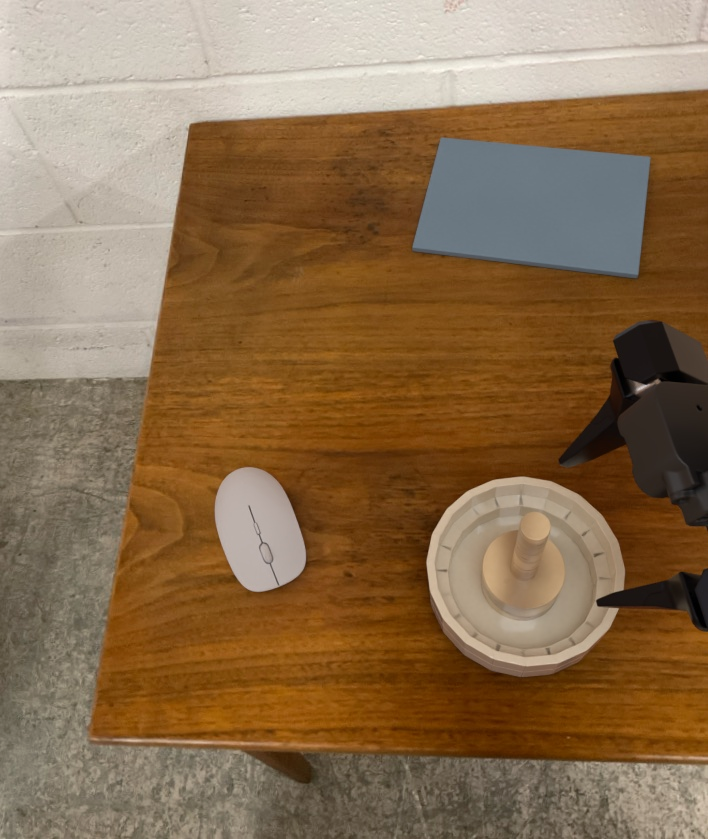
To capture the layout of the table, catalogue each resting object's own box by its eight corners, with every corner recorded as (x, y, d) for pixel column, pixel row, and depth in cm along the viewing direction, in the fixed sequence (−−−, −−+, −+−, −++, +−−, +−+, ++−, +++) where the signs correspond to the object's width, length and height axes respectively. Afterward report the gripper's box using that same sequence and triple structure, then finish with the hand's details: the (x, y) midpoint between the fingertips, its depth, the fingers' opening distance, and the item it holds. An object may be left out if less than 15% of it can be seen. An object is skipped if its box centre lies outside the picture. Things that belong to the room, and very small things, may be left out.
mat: (649, 161, 76) (650, 156, 75) (637, 279, 70) (638, 274, 69) (440, 141, 80) (440, 137, 79) (412, 251, 74) (412, 247, 73)
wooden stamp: (563, 553, 59) (588, 491, 48) (553, 628, 56) (578, 580, 46) (487, 538, 60) (495, 474, 49) (474, 611, 58) (480, 561, 47)
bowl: (620, 517, 60) (632, 495, 56) (602, 697, 55) (614, 686, 51) (446, 486, 63) (446, 462, 59) (412, 654, 57) (409, 640, 53)
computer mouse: (244, 604, 60) (235, 594, 57) (208, 492, 65) (198, 477, 62) (318, 574, 61) (312, 562, 58) (277, 465, 65) (270, 449, 63)
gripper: (692, 218, 39) (463, 370, 49) (850, 592, 30) (531, 683, 40) (793, 290, 46) (573, 411, 56) (946, 614, 37) (652, 687, 47)
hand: (580, 531), depth 50 cm, fingers open, 9 cm apart
